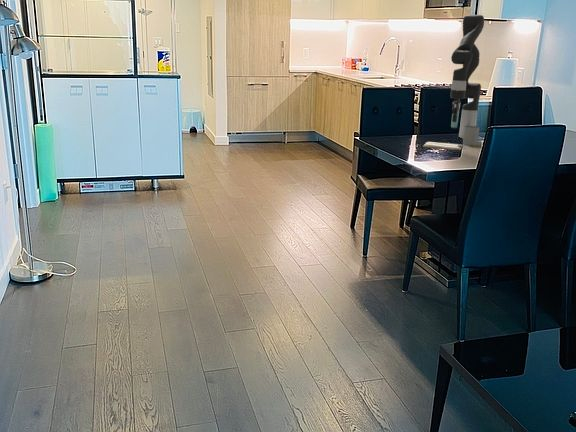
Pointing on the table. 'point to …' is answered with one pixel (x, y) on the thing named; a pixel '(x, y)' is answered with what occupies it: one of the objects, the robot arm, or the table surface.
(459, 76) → the robot arm
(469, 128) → the cup
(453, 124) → the marker
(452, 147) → the clipboard
